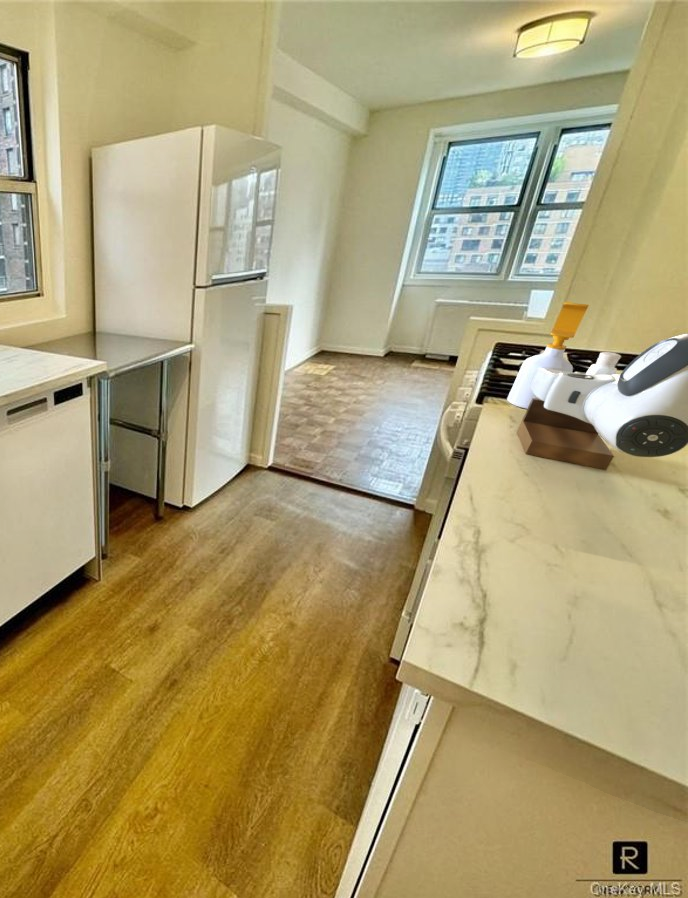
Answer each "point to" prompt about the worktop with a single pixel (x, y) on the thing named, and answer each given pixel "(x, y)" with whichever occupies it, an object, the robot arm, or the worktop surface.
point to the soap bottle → (548, 354)
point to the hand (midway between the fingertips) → (595, 378)
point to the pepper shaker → (604, 364)
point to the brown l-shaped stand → (562, 437)
